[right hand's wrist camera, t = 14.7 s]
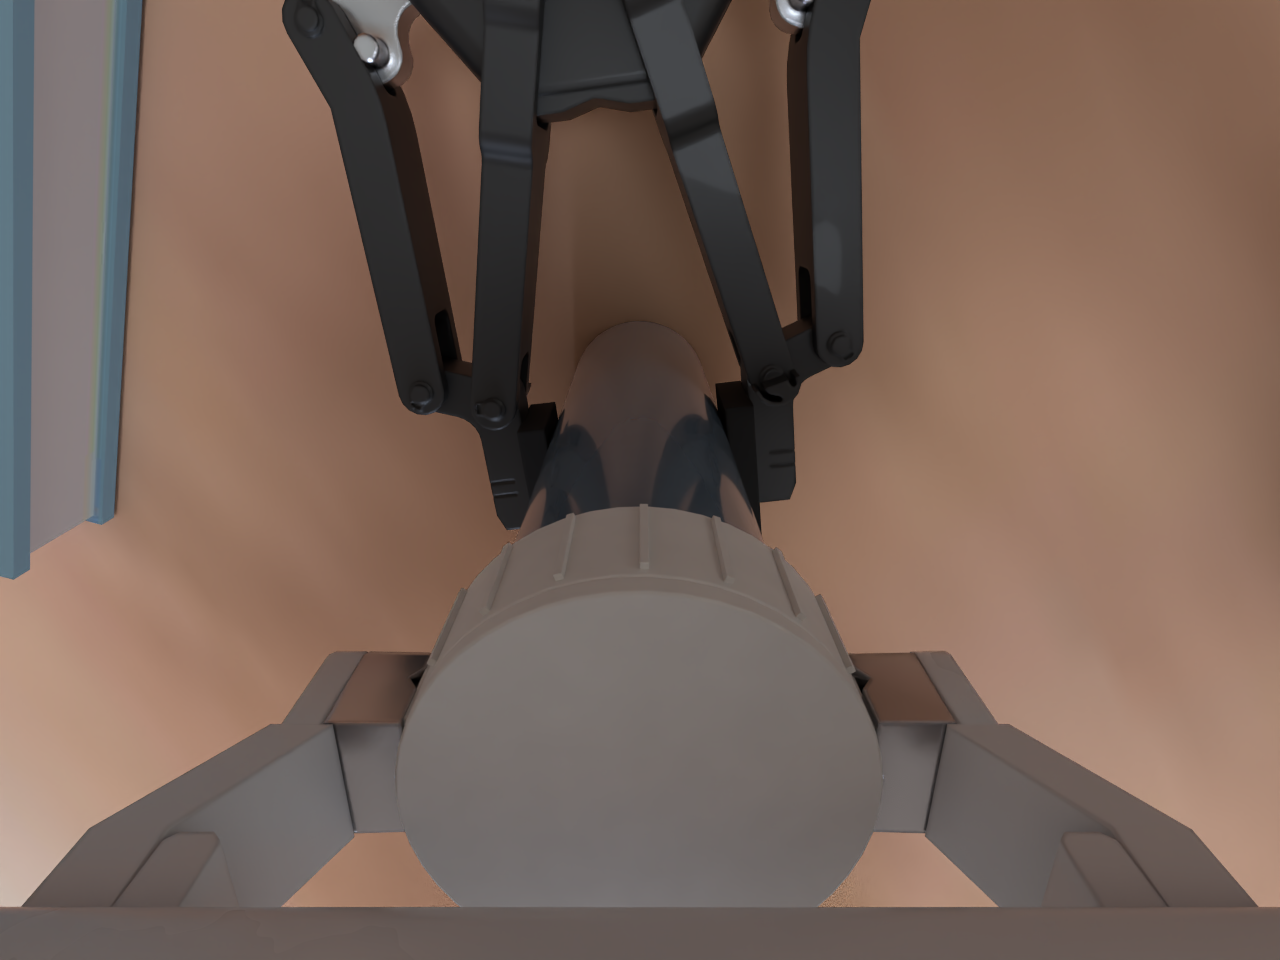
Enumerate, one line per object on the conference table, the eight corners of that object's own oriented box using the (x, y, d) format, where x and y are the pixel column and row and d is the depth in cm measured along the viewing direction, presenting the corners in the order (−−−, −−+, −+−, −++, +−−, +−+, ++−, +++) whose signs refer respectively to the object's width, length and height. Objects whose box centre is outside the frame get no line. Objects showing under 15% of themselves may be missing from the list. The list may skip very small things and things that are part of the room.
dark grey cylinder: (690, 307, 26) (803, 571, 8) (715, 432, 28) (855, 880, 10) (559, 337, 27) (387, 654, 8) (592, 459, 28) (509, 937, 10)
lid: (811, 457, 9) (860, 534, 7) (863, 798, 12) (912, 933, 10) (380, 548, 10) (310, 645, 8) (506, 860, 12) (479, 1000, 10)
